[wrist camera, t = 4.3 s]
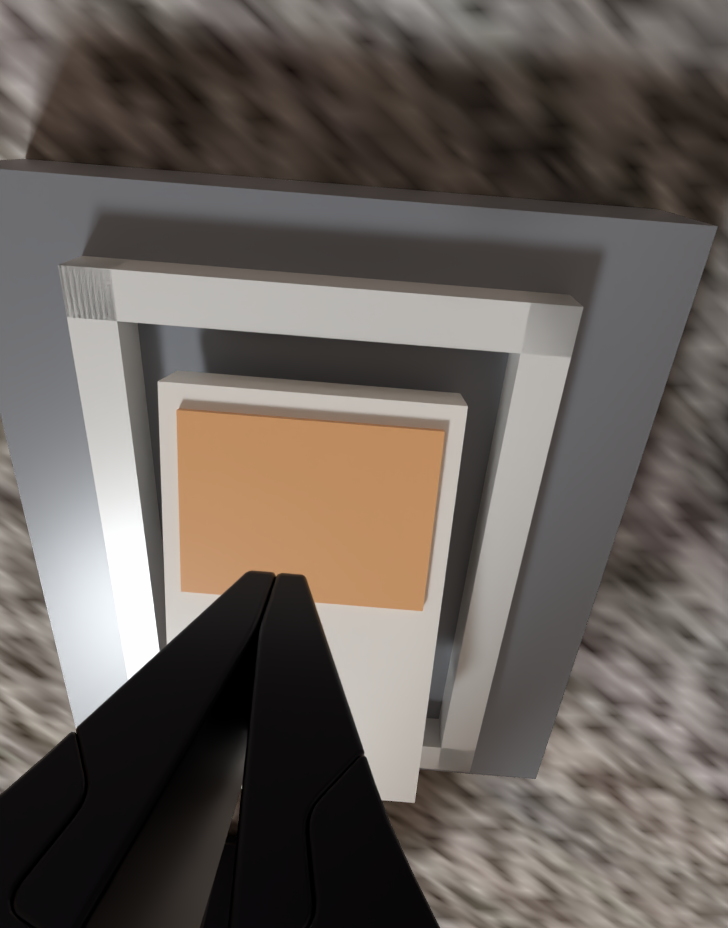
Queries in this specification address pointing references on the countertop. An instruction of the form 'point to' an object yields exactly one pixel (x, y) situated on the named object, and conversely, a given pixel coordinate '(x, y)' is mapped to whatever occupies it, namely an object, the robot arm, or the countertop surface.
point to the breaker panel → (345, 362)
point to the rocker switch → (321, 527)
